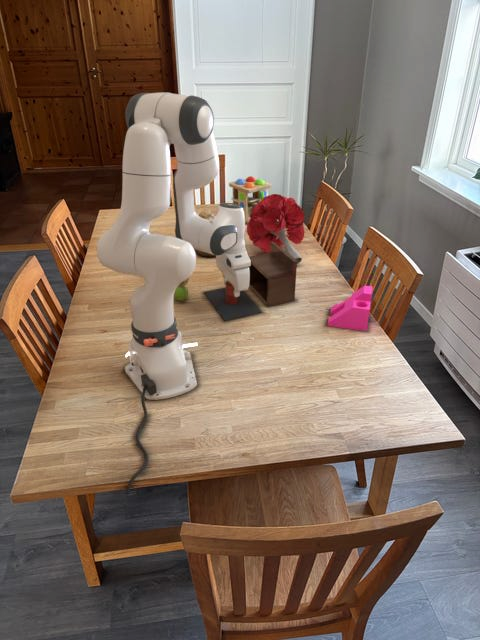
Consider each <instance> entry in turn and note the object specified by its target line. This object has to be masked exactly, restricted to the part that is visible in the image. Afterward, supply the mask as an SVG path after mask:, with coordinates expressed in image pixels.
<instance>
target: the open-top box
mask: <svg viewBox="0 0 480 640" xmlns="http://www.w3.org/2000/svg"><path fill="white" fill-rule="evenodd" d="M248 257H249V258H250V260H251V266H249V270H250V281H249V288H250V289H251V290H252V291H253V292H254V293H255V294H256V296H257V297H258V298H259V299H260V300H261V301H262V302H263V303H264V304H265V305H266V306H267V307H268V308H269V307H274V306H277V305H282V304H287V303H291V302H295V299H296V298H295V297H296V283H297V269H298V267H297V266H298V264H297V261H296V260H295V259H294V258H293V257H291V256H290V255H289V254H288V253H287V252H285V249H283V248H282V246H281V247H279V246H278V245H277V244H276V243H275V242H271V249H270V253H266V252H265V253H261V254H255V255H251V256H248Z"/></svg>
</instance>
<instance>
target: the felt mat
mask: <svg viewBox="0 0 480 640" xmlns="http://www.w3.org/2000/svg"><path fill="white" fill-rule="evenodd" d="M203 294H204V295H205V297H206V298H207V299H208V300H209V302H210V303H211V305H212V306H213V307H214V308H215V310H216V311H217V312H218V313H219V315H220V317H221V318H222V319H223V320H224V322H227V321H232V320H236V319H241V318H245V317H249V316H254V315H257V314H262V313H263V311H262V310H261V309H260V308H259V306H258V305H257V304H256V303H255V302H254V301H253V300H252V299H251V298H250V297H249V295H248V294H247V293H246V292H245V290H244V291H240V296H238V302H237V303H236V304H228V303H226V287H222V288H217V289H212V290H211V289H210V290H207V291H204V292H203Z"/></svg>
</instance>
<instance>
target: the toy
mask: <svg viewBox="0 0 480 640" xmlns="http://www.w3.org/2000/svg"><path fill="white" fill-rule="evenodd" d="M224 286H225V287H224V288H226V303H228V304H236V303H237V302H238V297H235V296H234V295H233V291H234V289H235V288H234V286H233V285H232V284H231V283H230V282H229V280H228V279H227V282H226V283H225V284H224Z"/></svg>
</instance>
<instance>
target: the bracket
mask: <svg viewBox="0 0 480 640" xmlns="http://www.w3.org/2000/svg"><path fill="white" fill-rule="evenodd" d="M372 296H373V286H371V285H362V286H361V287H359V288H358V289H357V290H355V291H354V292H352V293H351V296H349V297H348V298H347V299H345V300H344V301H342V302H340V303H339V302H337V303H335V304H334V305H332V306H331V308H330V311H329V315H331V316H329V317H328V321H327V326H329V327H335V328H342V329H347V330H356V331H362V332H367V331H368V324H369V318H370V312H371V304H372V303H371V302H372Z"/></svg>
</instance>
